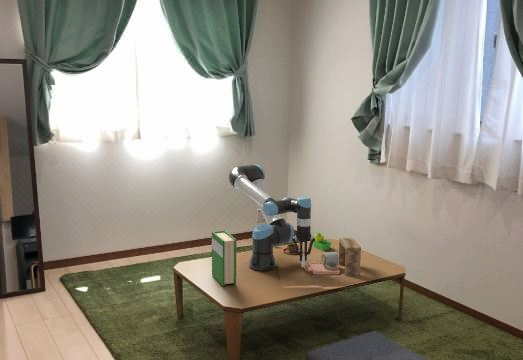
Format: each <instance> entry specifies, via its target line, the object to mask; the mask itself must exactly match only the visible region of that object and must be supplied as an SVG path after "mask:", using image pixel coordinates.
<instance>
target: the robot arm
mask: <svg viewBox="0 0 523 360" xmlns="http://www.w3.org/2000/svg"><path fill="white" fill-rule="evenodd" d="M265 178H266V175H265V170H264V168H263V167H262V166H261V165H259V164H248V165H247V164H246V165H239V166H234V167H233V168H232V169H231V170H230V172H229V174H228V180H229V181H228V182H229V183H230V185H231V186H232V187H233V188H235V189H236V190H239V191H241V192H242V193H243V194H245V195H246V196H248V198H250V199H251V200H252V201H254V202H255V203H256V204H257V206H258V208H259V209H260V212H261V214H262V216H263V218H264V219H265V222H266V223H265V224H258V225H257V226H254V228H253V229H252V235H251V237H252V253H251V257H250V260H249V263H248V264H249V265H248V267H249V269H251V270H254V271H260V272H267V271H268V272H269V271H273V270H274V269H276V266H277V264H276V263H277V262H276V259H275V255H274V248H275V247H278V246H283V245H288V244H291V242H293V244H295V249H296V253H297V255H298V256H299V261H300V262H301V263H300V264H301V268H304V267H305V263H306V262H307V260H308V258H307V257H308V255H310V254H311V251H312V247H313V246H314V244H313V242H314V240H315V236H312V233H311V224H312V223H311V221H312V219H311V218H312V200H311V198H310V197H308V196H299V197H297V199H296V198H293V197H283V198H282V199H279V200H276V199H275V198H273V197H272V196H271V195H269V194H270V193H269V192H268V190H267V188H266V186H265V183H266V181H265ZM287 213H294V214H296V225H297V226H296V234H295V229H294V226H293V224H292V223H290V222H286V220H285V218H284V217H281V215H282V214H283V215H284V214H287ZM297 240H298V241H299V248H300V250H298V247H297V245H298V243H297ZM309 240H310V241H309ZM308 242H309V245H308ZM303 243H304V247H303ZM303 249H304V253H303V252H302V250H303Z"/></svg>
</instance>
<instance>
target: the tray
mask: <svg viewBox="0 0 523 360" xmlns="http://www.w3.org/2000/svg"><path fill="white" fill-rule="evenodd" d="M329 267H332V268H334V267H336V266H329ZM303 268H304V271H305V272H312V274H313V275H341V270H340V269H339V267H338V266H337V267H336V269H334V270H331V269H328V268H327V266H324V265H322V263H321V262H308V263H306V262H305V267H303Z"/></svg>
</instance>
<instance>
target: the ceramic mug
mask: <svg viewBox="0 0 523 360" xmlns="http://www.w3.org/2000/svg"><path fill="white" fill-rule="evenodd" d="M338 258H339V254H338V253H337V252H336V251H331V252H324V253H322V254H321V255H320V263H322V265H324V266H327V268H328V269H331V270H334V269H336V267H338V266H339V265H338ZM329 266H336V267H334V268H332V267H329Z"/></svg>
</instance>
